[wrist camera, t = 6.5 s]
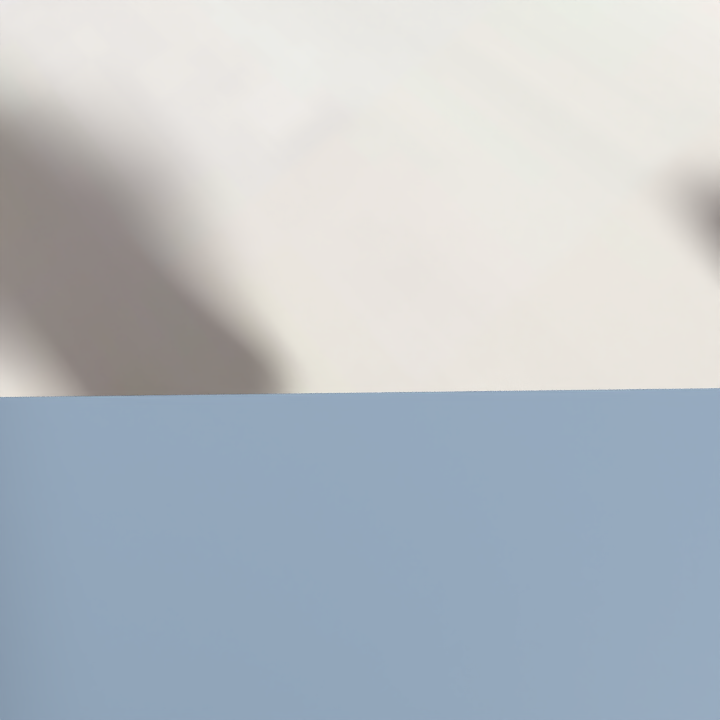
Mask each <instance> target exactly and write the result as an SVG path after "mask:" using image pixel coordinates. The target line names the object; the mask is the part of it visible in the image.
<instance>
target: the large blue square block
mask: <svg viewBox="0 0 720 720" xmlns="http://www.w3.org/2000/svg"><path fill="white" fill-rule="evenodd" d="M0 720H720V388H708V389H627V390H546V391H465V392H384V393H304V394H223V395H142V396H61V397H0Z"/></svg>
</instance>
